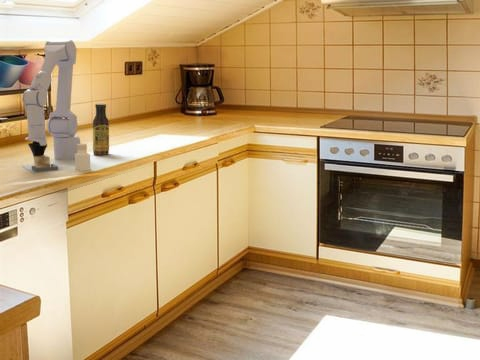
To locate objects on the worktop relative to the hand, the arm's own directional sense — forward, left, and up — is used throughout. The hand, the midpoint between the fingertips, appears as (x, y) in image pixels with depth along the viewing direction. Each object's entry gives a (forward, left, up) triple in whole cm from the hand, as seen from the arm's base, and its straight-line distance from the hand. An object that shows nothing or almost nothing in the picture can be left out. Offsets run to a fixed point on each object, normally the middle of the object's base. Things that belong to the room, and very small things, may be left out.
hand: (38, 163), depth 219 cm
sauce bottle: (-29, -15, -2) cm, 33 cm away
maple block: (0, +4, -1) cm, 4 cm away
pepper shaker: (-11, +13, -2) cm, 17 cm away
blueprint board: (0, +3, -2) cm, 4 cm away
